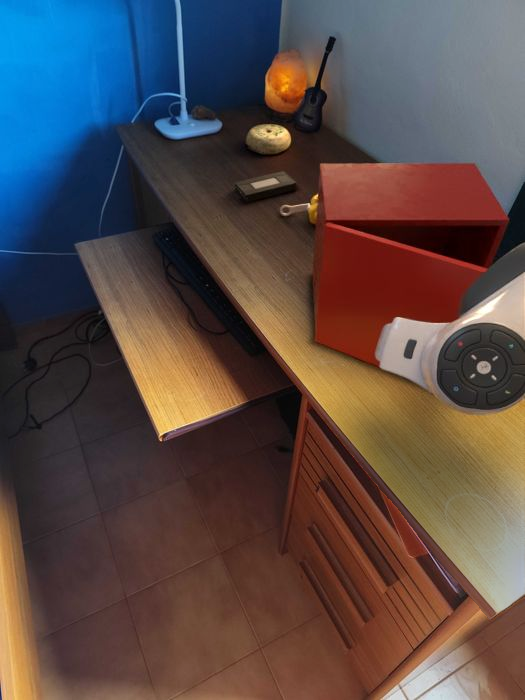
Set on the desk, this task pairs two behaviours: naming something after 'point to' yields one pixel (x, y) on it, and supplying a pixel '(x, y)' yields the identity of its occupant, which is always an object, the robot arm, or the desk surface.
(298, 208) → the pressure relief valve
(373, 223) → the cabinet
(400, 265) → the door
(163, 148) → the desk surface
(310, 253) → the desk surface
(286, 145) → the bagel
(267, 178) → the vhs tape
